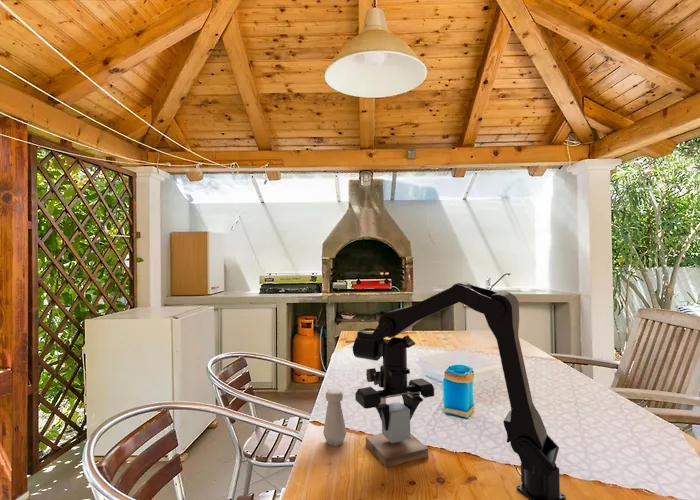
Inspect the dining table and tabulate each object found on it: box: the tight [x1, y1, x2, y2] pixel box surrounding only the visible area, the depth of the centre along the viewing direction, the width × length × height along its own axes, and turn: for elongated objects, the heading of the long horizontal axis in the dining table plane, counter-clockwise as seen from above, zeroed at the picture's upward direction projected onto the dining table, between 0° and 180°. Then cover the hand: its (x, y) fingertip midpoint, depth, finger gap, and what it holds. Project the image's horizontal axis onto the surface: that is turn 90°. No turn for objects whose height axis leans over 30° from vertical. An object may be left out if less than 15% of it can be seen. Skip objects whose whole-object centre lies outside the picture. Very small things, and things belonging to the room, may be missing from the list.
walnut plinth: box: [365, 432, 429, 468], centre depth 96 cm, size 11×11×2 cm
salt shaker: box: [322, 388, 347, 447], centre depth 101 cm, size 6×6×13 cm
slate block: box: [381, 401, 411, 443], centre depth 96 cm, size 5×5×7 cm
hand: (396, 428), depth 96 cm, fingers closed on slate block, 5 cm apart
